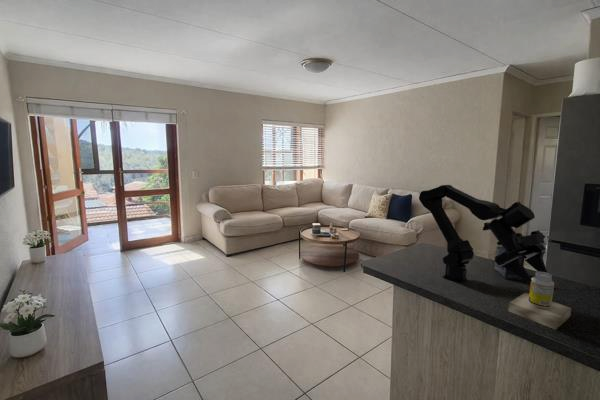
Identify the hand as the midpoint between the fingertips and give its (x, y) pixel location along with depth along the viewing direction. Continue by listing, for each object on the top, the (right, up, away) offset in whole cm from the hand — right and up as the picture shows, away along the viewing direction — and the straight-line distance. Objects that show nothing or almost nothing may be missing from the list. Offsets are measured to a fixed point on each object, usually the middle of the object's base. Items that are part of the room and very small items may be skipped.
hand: (538, 278), depth 92 cm
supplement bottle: (0, -8, 0) cm, 8 cm away
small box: (+12, -7, +31) cm, 33 cm away
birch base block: (0, -11, +1) cm, 11 cm away
